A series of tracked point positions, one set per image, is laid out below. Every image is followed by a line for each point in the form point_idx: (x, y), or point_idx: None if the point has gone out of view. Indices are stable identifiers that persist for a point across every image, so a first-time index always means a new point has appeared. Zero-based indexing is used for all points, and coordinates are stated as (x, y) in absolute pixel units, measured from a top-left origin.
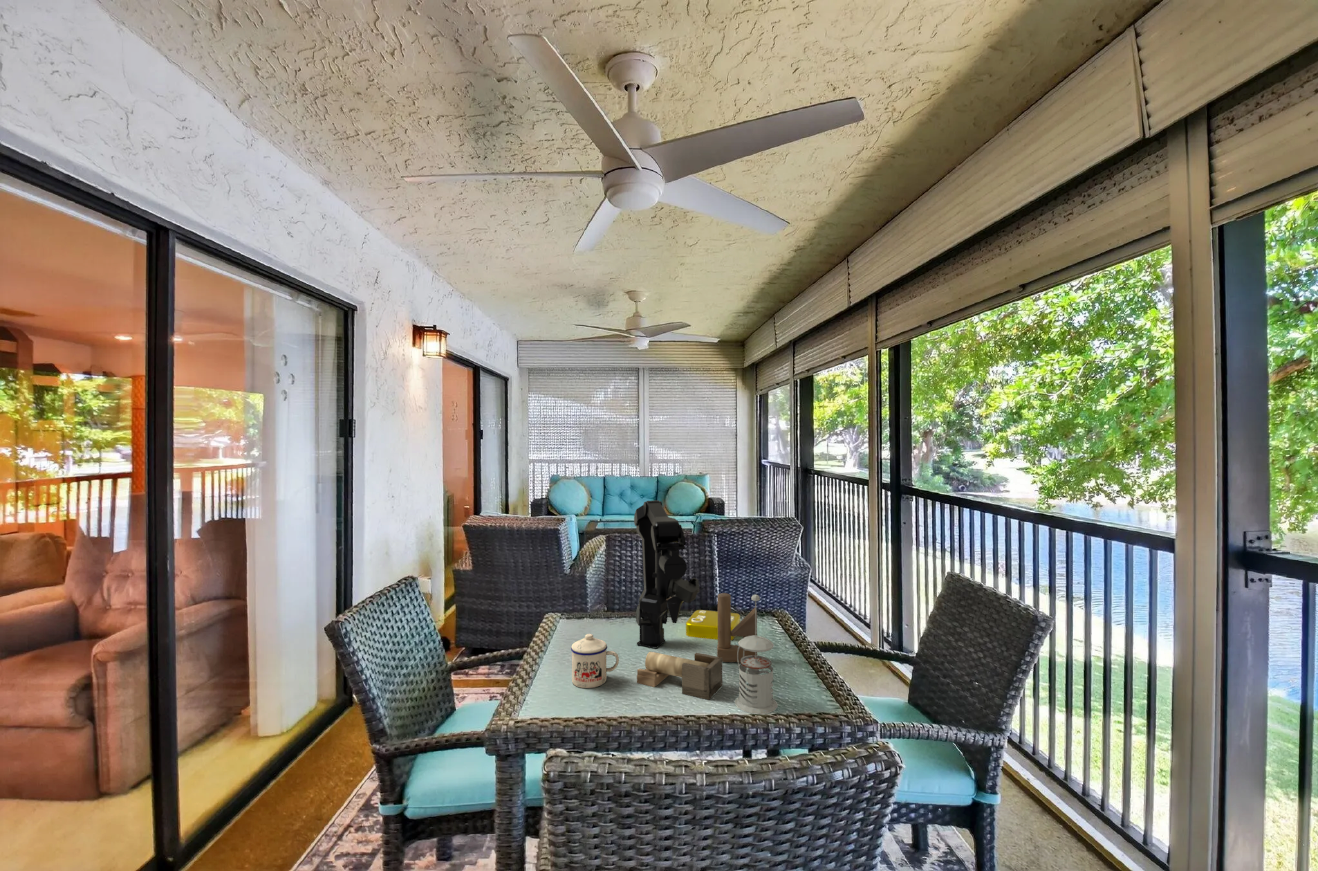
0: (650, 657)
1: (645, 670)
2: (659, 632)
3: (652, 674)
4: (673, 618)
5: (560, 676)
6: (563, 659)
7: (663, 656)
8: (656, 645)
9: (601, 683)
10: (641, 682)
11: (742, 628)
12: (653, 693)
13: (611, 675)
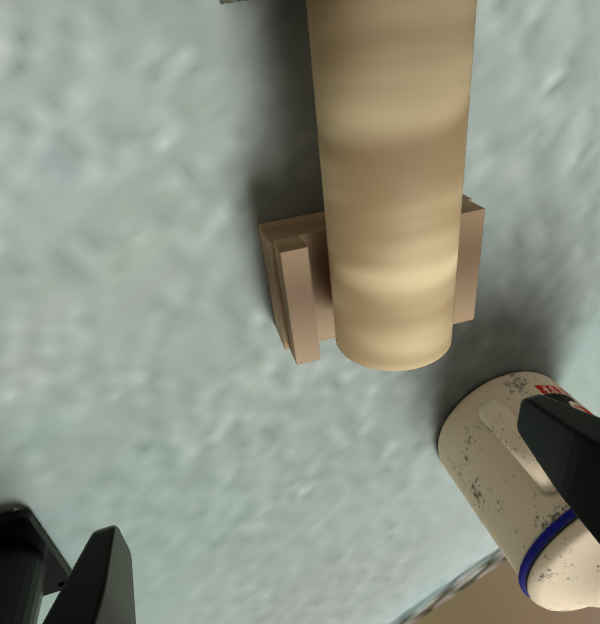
0: (452, 319)
1: (461, 283)
2: (560, 403)
3: (479, 222)
4: (125, 603)
5: None
6: (383, 583)
7: (439, 246)
8: (3, 524)
9: (522, 374)
10: None
11: None
12: (509, 141)
13: (419, 409)
